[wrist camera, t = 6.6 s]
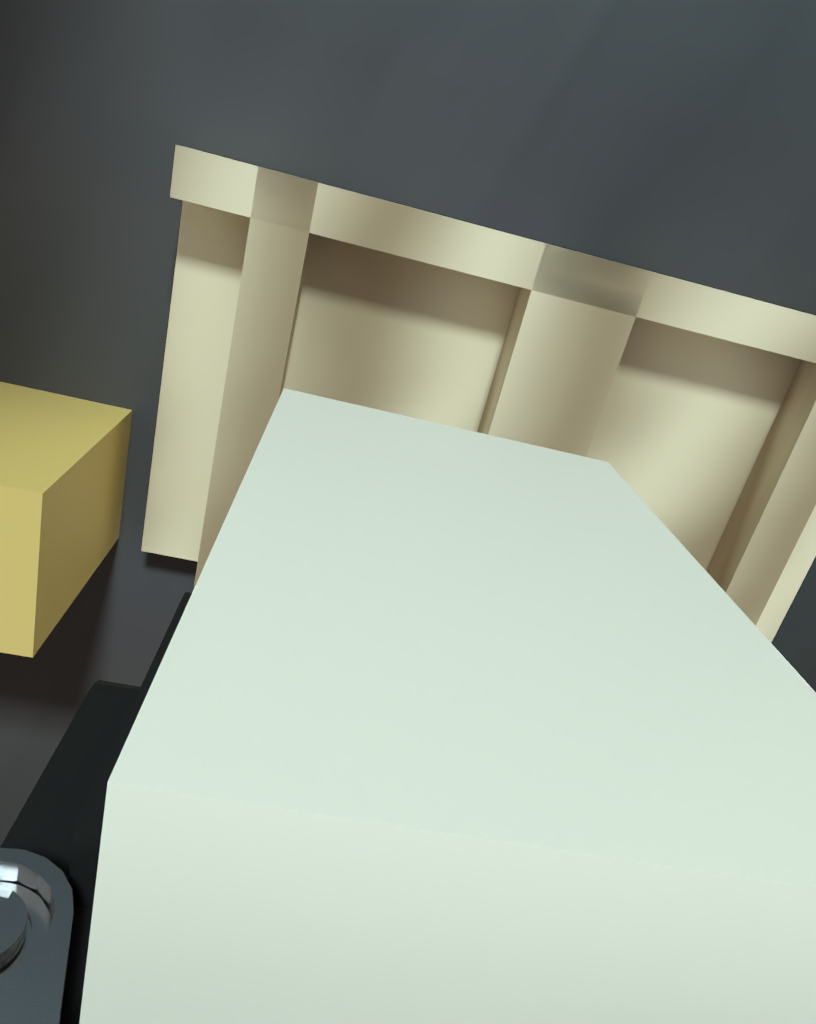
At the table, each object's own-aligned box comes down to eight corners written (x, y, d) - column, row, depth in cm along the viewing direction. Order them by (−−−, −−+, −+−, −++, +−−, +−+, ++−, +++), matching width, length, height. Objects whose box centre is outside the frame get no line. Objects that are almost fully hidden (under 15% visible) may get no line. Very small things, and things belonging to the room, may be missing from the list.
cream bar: (283, 388, 10) (107, 781, 3) (608, 461, 10) (1017, 918, 4) (199, 841, 13) (20, 1521, 6) (454, 876, 13) (536, 1526, 7)
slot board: (149, 537, 25) (127, 572, 22) (197, 150, 20) (176, 144, 18) (745, 652, 28) (779, 693, 25) (901, 338, 23) (960, 354, 21)
